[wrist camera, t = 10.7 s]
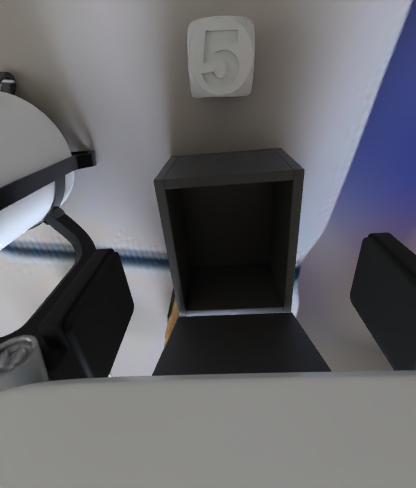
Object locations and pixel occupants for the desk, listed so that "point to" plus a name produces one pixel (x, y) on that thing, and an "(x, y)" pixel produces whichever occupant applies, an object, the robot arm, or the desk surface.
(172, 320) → the ammunition clip
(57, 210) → the coffee press
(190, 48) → the die
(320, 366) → the lid
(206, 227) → the hinged black storage box
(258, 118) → the desk surface
